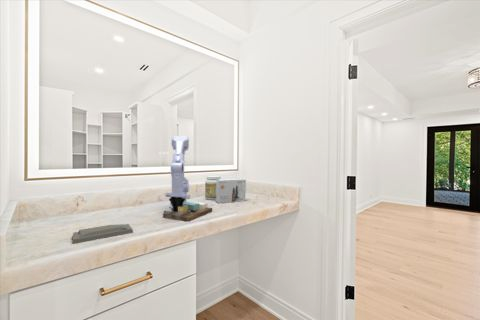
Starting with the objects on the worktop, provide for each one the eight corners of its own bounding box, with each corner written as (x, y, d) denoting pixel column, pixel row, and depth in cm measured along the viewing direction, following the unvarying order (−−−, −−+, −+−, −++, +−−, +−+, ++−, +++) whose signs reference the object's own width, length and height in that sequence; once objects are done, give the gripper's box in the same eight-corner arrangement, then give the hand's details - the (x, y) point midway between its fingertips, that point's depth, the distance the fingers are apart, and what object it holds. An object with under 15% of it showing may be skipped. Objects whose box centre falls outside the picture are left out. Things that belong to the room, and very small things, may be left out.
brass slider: (178, 214, 112) (178, 206, 112) (183, 212, 115) (183, 204, 115) (182, 215, 110) (182, 207, 110) (187, 213, 114) (187, 205, 114)
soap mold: (133, 234, 91) (133, 225, 91) (72, 245, 79) (72, 236, 79) (128, 227, 99) (128, 220, 99) (72, 237, 87) (72, 228, 87)
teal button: (178, 208, 120) (178, 203, 120) (184, 206, 125) (184, 201, 125) (193, 209, 116) (193, 205, 116) (199, 208, 121) (199, 203, 121)
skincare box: (218, 203, 148) (218, 180, 148) (215, 202, 153) (215, 179, 153) (246, 201, 158) (246, 179, 158) (242, 199, 163) (242, 178, 163)
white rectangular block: (188, 207, 127) (188, 203, 127) (193, 205, 132) (193, 201, 132) (202, 209, 123) (202, 204, 123) (207, 207, 128) (207, 203, 128)
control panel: (163, 217, 114) (163, 210, 114) (189, 208, 134) (189, 202, 134) (188, 221, 107) (188, 214, 107) (212, 211, 127) (212, 205, 127)
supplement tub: (202, 198, 167) (202, 176, 167) (215, 196, 175) (215, 175, 175) (211, 201, 158) (211, 177, 158) (224, 198, 166) (224, 176, 166)
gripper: (161, 185, 113) (160, 211, 114) (183, 187, 107) (183, 215, 108) (170, 184, 120) (170, 208, 120) (192, 185, 114) (192, 211, 114)
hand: (177, 211), depth 114 cm, fingers closed
